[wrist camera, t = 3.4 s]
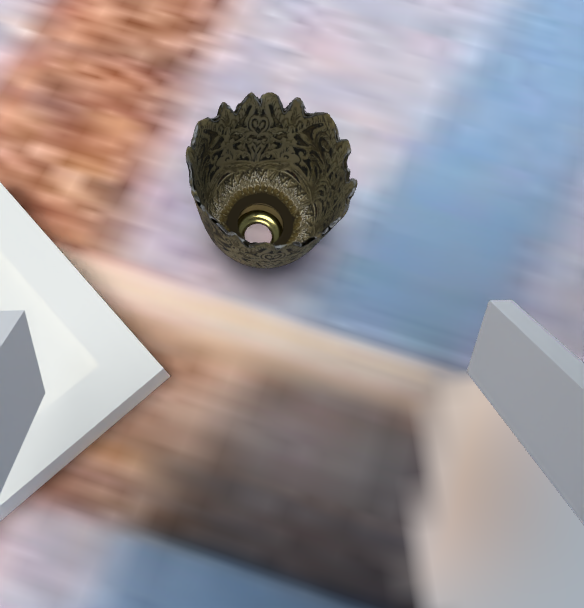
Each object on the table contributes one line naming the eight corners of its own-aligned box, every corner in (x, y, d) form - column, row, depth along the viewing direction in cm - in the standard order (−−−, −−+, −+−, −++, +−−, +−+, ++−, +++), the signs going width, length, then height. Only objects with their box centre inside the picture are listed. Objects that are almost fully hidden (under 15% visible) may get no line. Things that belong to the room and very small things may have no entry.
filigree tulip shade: (191, 180, 28) (181, 87, 20) (311, 178, 29) (344, 90, 22) (198, 300, 26) (190, 248, 18) (325, 292, 27) (368, 241, 20)
